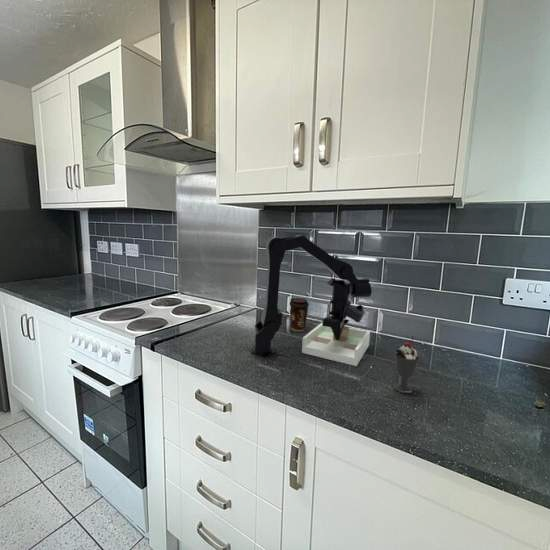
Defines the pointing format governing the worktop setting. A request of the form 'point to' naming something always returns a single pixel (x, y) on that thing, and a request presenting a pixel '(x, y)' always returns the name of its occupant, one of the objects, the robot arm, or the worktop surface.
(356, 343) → the trap box
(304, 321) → the coffee cup
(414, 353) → the sundae
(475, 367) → the worktop surface
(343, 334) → the block
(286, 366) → the worktop surface
